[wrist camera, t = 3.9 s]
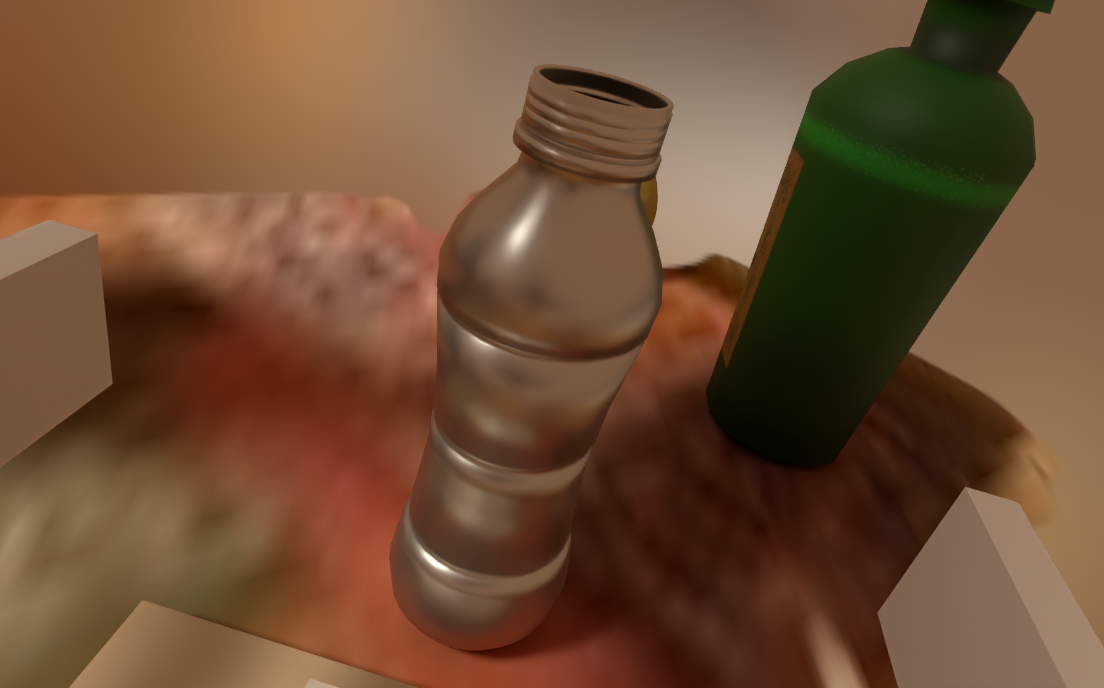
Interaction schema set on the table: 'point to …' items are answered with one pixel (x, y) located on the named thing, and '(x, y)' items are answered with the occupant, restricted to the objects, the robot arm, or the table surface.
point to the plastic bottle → (530, 357)
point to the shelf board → (210, 658)
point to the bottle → (873, 227)
